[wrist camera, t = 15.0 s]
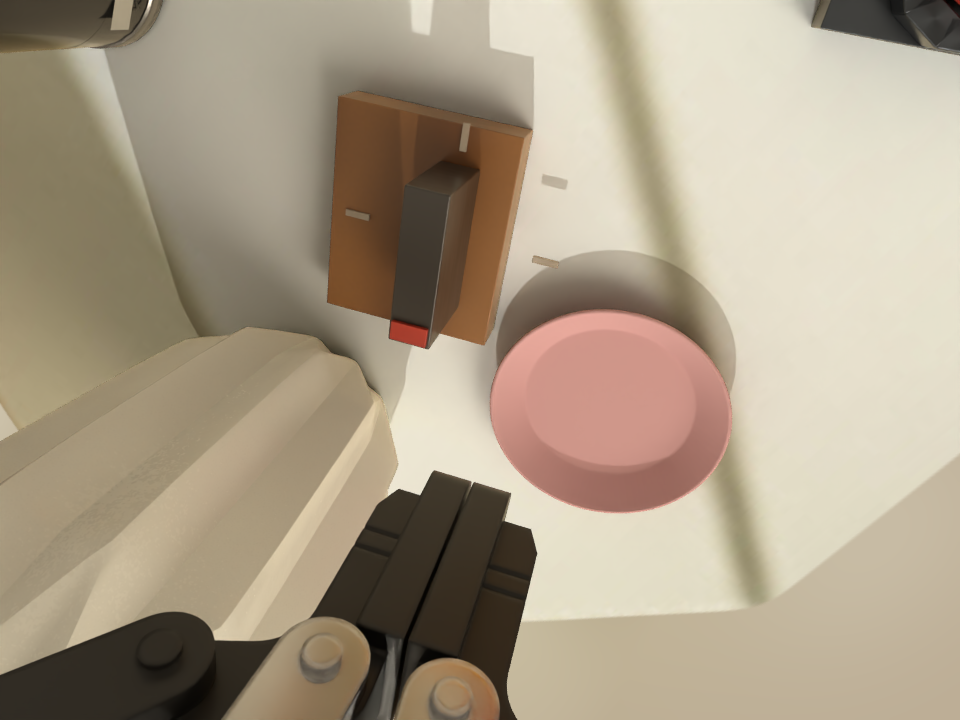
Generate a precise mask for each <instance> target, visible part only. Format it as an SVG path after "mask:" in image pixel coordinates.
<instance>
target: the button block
mask: <svg viewBox="0 0 960 720" xmlns="http://www.w3.org/2000/svg"><path fill="white" fill-rule="evenodd" d="M811 27H814V28H819V29H824V30H829V31H834V32H840V33H845V34H850V35H855V36H860V37H866V38H871V39H876V40H881V41H886V42H892V43H897V44H902V45H907V46H912V47H918V48H923V49H928V50H933V51H938V52H944V53H949V54H954V55H959V56H960V5H959V4H958V3H957V2H956V1H955V0H821V1H820V4H819V6H818V9H817V12H816V14H815V17H814V20H813V22H812V25H811Z"/></svg>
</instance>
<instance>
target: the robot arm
mask: <svg viewBox="0 0 960 720" xmlns="http://www.w3.org/2000/svg"><path fill="white" fill-rule="evenodd" d="M162 2H163V0H0V53H12V52H26V51H40V50H54V49H72V48H85V47H90V48H113V47H122V46H126V45H129V44H131V43H133V42H135V41H137V40H139V39H140V38H141V37H143V36H144V35H145V34H146V33H147V32H148V31H149V29H150V28H151V27H152V25H153V24H154V22H155V21H156V19H157V16H158V14H159V12H160V9H161V6H162ZM510 497H511V493H509V492H505V491H502V490H499V489H495V488H492V487H489V486H485V485H482V484H479V483H475V482H474V483H473V485H472V487H471V481H468V480H465V479H461V478H458V477H455V476H452V475H448V474H445V473H442V472H438V471H433V472H432V474H431V476H430V477H429V479H428V481H427V483H426V485H425V487H424V489H423V491H422V493H421V495H417V494H414V493H411V492H407V491H404V490H401V489H398V490H396V491H395V492H394V493H392V494H391V495H389V496H388V497H386V498H385V499H384V500H382V501H381V502H379V503H378V504H377V506H376V507H375V509H374V511H373V512H372V514H371V516H370V518H369V519H368V521H367V523H366V524H365V528H364V529H362V531H361V533H360V535H359V536H358V538H357V540H356V541H355V545H354V546H352V548H351V550H350V552H349V553H348V555H347V557H346V558H345V560H344V562H343V564H342V565H341V567H340V569H339V570H338V572H337V574H336V575H335V577H334V579H333V581H332V582H331V584H330V586H329V587H328V589H327V591H326V593H325V594H324V596H323V598H322V599H321V601H320V603H319V604H318V606H317V608H316V610H315V611H314V612H313V614H312V615H311V616H310V618H309V619H307V620H304V621H302V622H299V623H297V624H296V625H294V626H293V627H291V628H290V629H289V630H287V631H286V632H285V633H284V634H283V635H282V636H280V637H277V638H274V639H269V640H263V641H227V640H215V639H214V635H213V632H212V630H211V629H210V627H209V626H208V625H207V624H206V623H205V622H204V621H203V620H202V619H200V618H199V617H197V616H195V615H192V614H189V613H185V612H175V611H173V612H163V613H158V614H154V615H151V616H148V617H145V618H142V619H140V620H137V621H135V622H132V623H130V624H127V625H125V626H122V627H120V628H117V629H115V630H112V631H110V632H107V633H105V634H102V635H100V636H97V637H94V638H92V639H89V640H87V641H84V642H82V643H79V644H77V645H74V646H72V647H69V648H67V649H64V650H62V651H59V652H57V653H54V654H51V655H49V656H46V657H44V658H41V659H39V660H36V661H34V662H31V663H29V664H26V665H24V666H21V667H19V668H16V669H14V670H11V671H9V672H6V673H3V674H1V675H0V720H393V719H394V720H517V718H516V717H515V715H514V713H513V711H512V709H511V706H510V703H509V700H508V695H507V677H508V672H509V668H510V664H511V660H512V655H513V651H514V647H515V643H516V639H517V635H518V631H519V626H520V622H521V618H522V614H523V610H524V606H525V601H526V597H527V593H528V589H529V585H530V581H531V577H532V573H533V569H534V564H535V560H536V556H537V551H536V547H535V543H534V539H533V535H532V532H531V529H528V528H525V527H522V526H518V525H515V524H512V523H509V522H505V517H506V513H507V509H508V505H509V501H510ZM394 716H395V717H394Z"/></svg>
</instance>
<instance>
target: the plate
mask: <svg viewBox="0 0 960 720" xmlns="http://www.w3.org/2000/svg"><path fill="white" fill-rule="evenodd" d="M490 415H491V421H492V426H493V429H494V433H495V435H496V438H497V440H498V443H499V445H500V447H501V449H502V450H503V452H504V454H505V455H506V457H507V458H508V460H509V461H510V463H511V464H512V465H513V466H514V467H515V469H516V470H517V471H518V472H519V473H520V474H521V475H522V476H523V477H524V478H525V479H527V480H528V481H529V482H530V483H531V484H533V485H534V486H535V487H537V488H538V489H540V490H541V491H543V492H544V493H546V494H548V495H549V496H551V497H553V498H555V499H557V500H559V501H562V502H564V503H567V504H569V505H572V506H575V507H579V508H582V509H586V510H591V511H597V512H604V513H633V512H641V511H647V510H651V509H655V508H659V507H662V506H665V505H667V504H670V503H672V502H674V501H676V500H678V499H680V498H682V497H684V496H686V495H687V494H689V493H690V492H692V491H693V490H695V489H696V488H697V487H698V486H700V485H701V484H702V483H703V482H704V481H705V480H706V479H707V478H708V477H709V476H710V475H711V474H712V472H713V471H714V470H715V468H716V467H717V465H718V464H719V462H720V461H721V459H722V457H723V455H724V453H725V450H726V448H727V445H728V442H729V438H730V434H731V427H732V409H731V402H730V397H729V394H728V390H727V387H726V385H725V382H724V380H723V378H722V376H721V374H720V372H719V371H718V369H717V367H716V366H715V364H714V363H713V362H712V360H711V359H710V358H709V356H708V355H707V354H706V353H705V352H704V351H703V350H702V349H701V348H700V347H699V346H698V345H697V344H696V343H695V342H694V341H692V340H691V339H690V338H689V337H687V336H686V335H684V334H683V333H682V332H680V331H678V330H677V329H675V328H673V327H672V326H670V325H668V324H666V323H664V322H661V321H659V320H657V319H654V318H651V317H648V316H645V315H642V314H638V313H634V312H628V311H622V310H612V309H593V310H584V311H577V312H573V313H569V314H565V315H562V316H559V317H556V318H553V319H551V320H549V321H546V322H544V323H542V324H540V325H539V326H537V327H535V328H534V329H532V330H531V331H529V332H528V333H527V334H525V335H524V336H523V337H522V338H520V339H519V340H518V341H517V342H516V343H515V344H514V345H513V346H512V348H511V349H510V350H509V351H508V352H507V354H506V355H505V357H504V358H503V360H502V362H501V363H500V365H499V367H498V369H497V372H496V374H495V377H494V380H493V384H492V388H491V394H490Z"/></svg>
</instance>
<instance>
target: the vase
mask: <svg viewBox="0 0 960 720" xmlns="http://www.w3.org/2000/svg"><path fill="white" fill-rule="evenodd" d="M397 467H398V460H397V455H396V450H395V446H394V442H393V438H392V433H391V429H390V425H389V421H388V417H387V413H386V409H385V406H384V403H383V400H382V398H381V397H380V395H379V394H377V393H376V392H375V391H374V390H372V389H371V388H370V387H368V385H367V383H366V381H365V378H364V376H363V373H362V371H361V368H360V367H359V365H358V363H357V362H356V361H355V360H352V359H350V358H347V357H344V356H340V355H336V354H332V353H331V352H330V350H329V349H328V348H327V347H326V346H325V345H324V344H323V343H322V341H321V340H320V339H318V338H317V337H314V336H309V335H304V334H298V333H291V332H285V331H278V330H271V329H263V328H255V327H246V328H243V329H241V330H239V331H237V332H235V333H233V334H232V335H224V336H208V337H196V338H188V339H186V340H183V341H181V342H179V343H177V344H175V345H173V346H171V347H169V348H167V349H166V350H164V351H162V352H160V353H158V354H156V355H154V356H152V357H150V358H148V359H146V360H144V361H143V362H141V363H139V364H137V365H135V366H133V367H131V368H129V369H127V370H126V371H124V372H122V373H120V374H119V375H117V376H115V377H113V378H111V379H110V380H108V381H106V382H104V383H103V384H101V385H99V386H97V387H96V388H94V389H92V390H90V391H88V392H87V393H85V394H83V395H81V396H80V397H78V398H76V399H74V400H73V401H71V402H69V403H67V404H65V405H64V406H62V407H60V408H58V409H57V410H55V411H53V412H51V413H49V414H48V415H46V416H44V417H42V418H41V419H39V420H37V421H35V422H34V423H32V424H30V425H28V426H26V427H25V428H23V429H21V430H19V431H18V432H16V433H14V434H12V435H10V436H9V437H7V438H5V439H4V440H2V441H0V675H1V674H3V673H6V672H9V671H11V670H14V669H16V668H19V667H21V666H24V665H26V664H29V663H31V662H34V661H36V660H39V659H41V658H44V657H46V656H49V655H51V654H54V653H57V652H59V651H62V650H64V649H67V648H69V647H72V646H74V645H77V644H79V643H82V642H84V641H87V640H89V639H92V638H94V637H97V636H100V635H102V634H105V633H107V632H110V631H112V630H115V629H117V628H120V627H122V626H125V625H127V624H130V623H132V622H135V621H137V620H140V619H142V618H145V617H148V616H151V615H154V614H158V613H163V612H173V611H175V612H185V613H189V614H192V615H195V616H197V617H199V618H200V619H202V620H203V621H204V622H205V623H206V624H207V625H208V626H209V627H210V629H211V630H212V632H213V635H214V639H215V640H227V641H263V640H269V639H274V638H277V637H280V636H282V635H283V634H284V633H285V632H286V631H287V630H289V629H290V628H291V627H293V626H294V625H296V624H297V623H299V622H302V621H304V620H307V619H309V618H310V616H311V615H312V614H313V612H314V611H315V610H316V608H317V606H318V604H319V603H320V601H321V599H322V598H323V596H324V594H325V593H326V591H327V589H328V587H329V586H330V584H331V582H332V581H333V579H334V577H335V575H336V574H337V572H338V570H339V569H340V567H341V565H342V564H343V562H344V560H345V558H346V557H347V555H348V553H349V552H350V550H351V548H352V546H354V545H355V541H356V540H357V538H358V536H359V535H360V533H361V531H362V529H364V528H365V524H366V523H367V521H368V519H369V518H370V516H371V514H372V512H373V511H374V509H375V507H376V506H377V504H378V503H379V502H381V501H382V500H384V499H385V498H386V497H388V489H389V486H390V484H391V482H392V480H393V477H394V475H395V473H396V470H397Z"/></svg>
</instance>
